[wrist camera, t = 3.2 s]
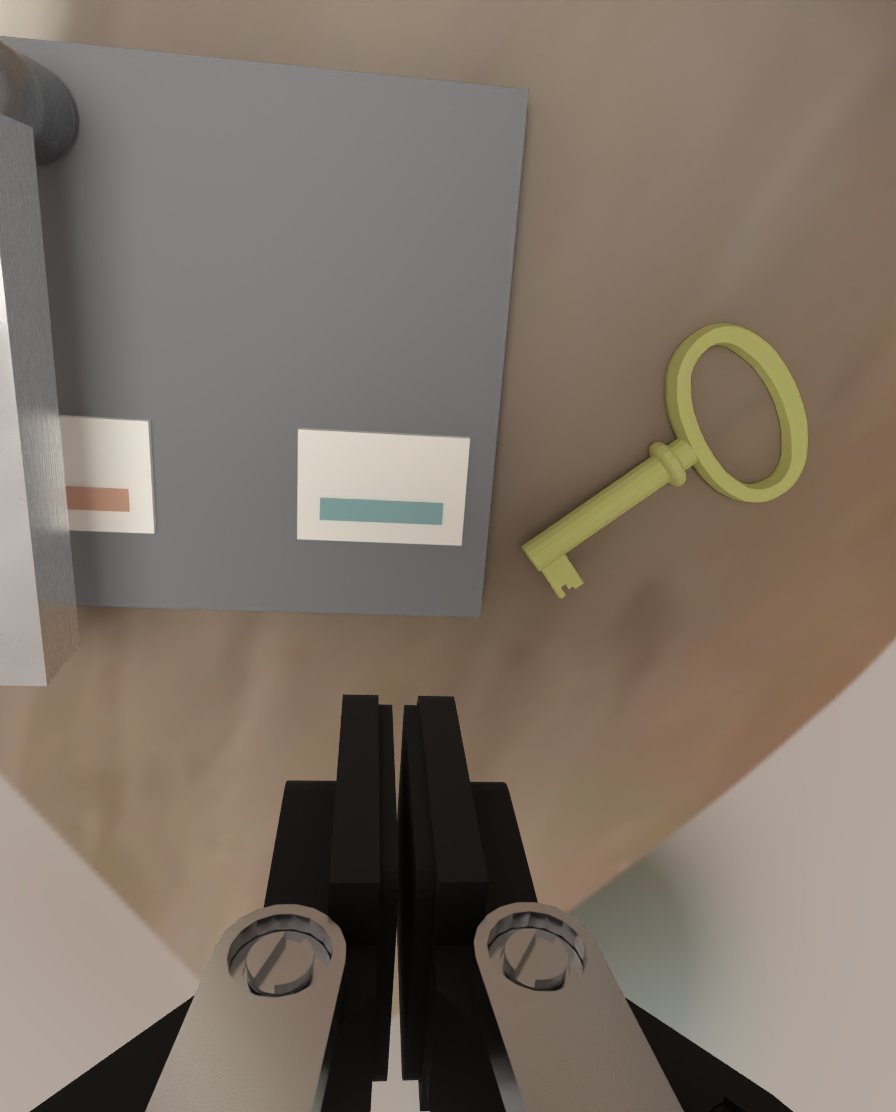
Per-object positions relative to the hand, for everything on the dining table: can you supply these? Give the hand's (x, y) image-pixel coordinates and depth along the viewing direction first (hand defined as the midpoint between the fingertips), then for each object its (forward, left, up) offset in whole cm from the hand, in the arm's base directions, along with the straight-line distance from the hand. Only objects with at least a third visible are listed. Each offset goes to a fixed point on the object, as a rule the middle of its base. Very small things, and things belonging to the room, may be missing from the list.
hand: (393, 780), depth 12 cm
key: (-11, -1, -20) cm, 23 cm away
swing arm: (+11, -4, -17) cm, 21 cm away
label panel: (+6, -4, -19) cm, 20 cm away
